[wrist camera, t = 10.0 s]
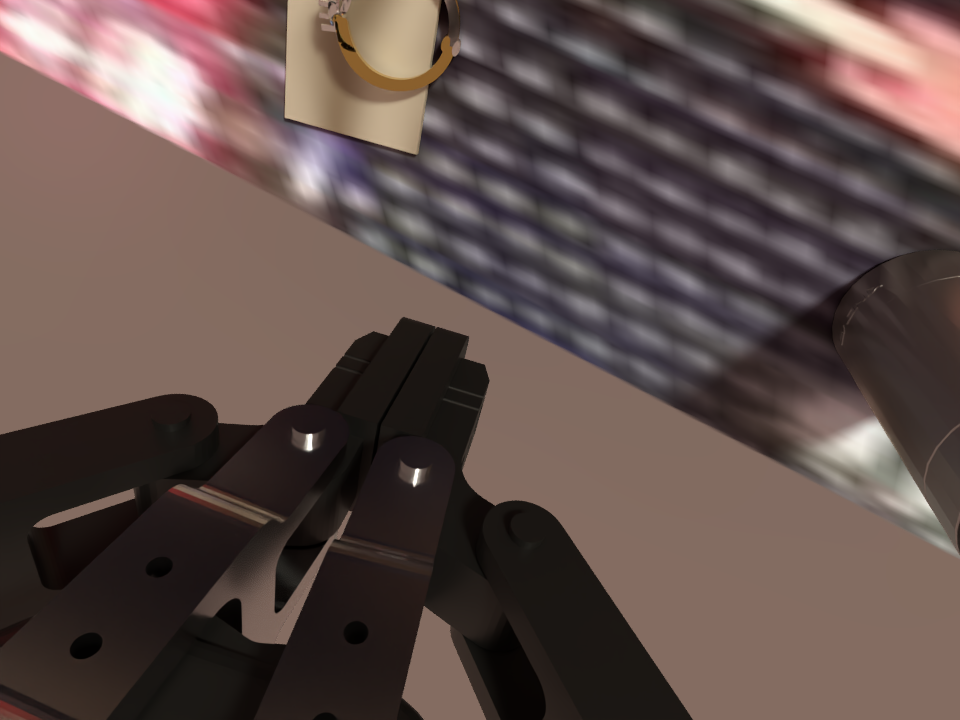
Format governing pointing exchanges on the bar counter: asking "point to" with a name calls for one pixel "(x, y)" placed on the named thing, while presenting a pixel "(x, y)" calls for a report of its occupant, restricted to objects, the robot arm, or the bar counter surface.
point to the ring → (337, 13)
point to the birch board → (344, 94)
